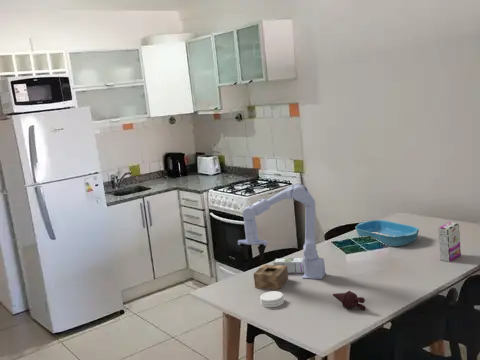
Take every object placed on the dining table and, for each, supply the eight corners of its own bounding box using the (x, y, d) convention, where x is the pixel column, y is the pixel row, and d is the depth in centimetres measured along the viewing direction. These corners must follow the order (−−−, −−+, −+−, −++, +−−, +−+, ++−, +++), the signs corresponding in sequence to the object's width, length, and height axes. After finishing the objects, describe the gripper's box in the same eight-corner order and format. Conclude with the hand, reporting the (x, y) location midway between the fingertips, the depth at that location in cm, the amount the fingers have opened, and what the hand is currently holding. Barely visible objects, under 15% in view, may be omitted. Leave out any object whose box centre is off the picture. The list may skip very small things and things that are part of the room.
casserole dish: (428, 240, 275) (427, 227, 274) (399, 251, 264) (398, 238, 263) (375, 229, 306) (375, 217, 305) (348, 238, 295) (347, 226, 294)
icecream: (326, 292, 207) (359, 303, 197) (336, 282, 212) (368, 292, 202) (329, 306, 210) (361, 317, 200) (338, 295, 215) (371, 306, 205)
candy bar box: (451, 253, 252) (449, 221, 249) (461, 255, 248) (459, 222, 245) (439, 260, 245) (437, 227, 242) (449, 262, 241) (448, 228, 238)
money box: (288, 279, 243) (286, 265, 242) (279, 289, 233) (277, 275, 232) (264, 278, 248) (263, 264, 247) (255, 287, 238) (253, 273, 237)
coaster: (267, 310, 213) (266, 302, 212) (256, 302, 222) (256, 294, 222) (288, 303, 217) (287, 296, 216) (277, 296, 226) (276, 288, 225)
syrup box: (274, 273, 253) (303, 273, 249) (273, 262, 252) (302, 261, 248) (276, 269, 259) (305, 268, 254) (275, 257, 257) (304, 257, 253)
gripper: (268, 229, 243) (271, 257, 246) (240, 229, 250) (244, 255, 252) (262, 234, 237) (266, 262, 239) (234, 233, 243) (237, 260, 246)
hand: (254, 259), depth 245 cm, fingers open, 7 cm apart
